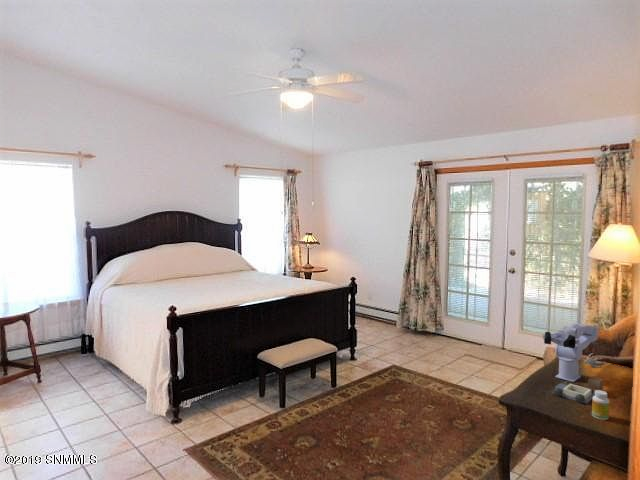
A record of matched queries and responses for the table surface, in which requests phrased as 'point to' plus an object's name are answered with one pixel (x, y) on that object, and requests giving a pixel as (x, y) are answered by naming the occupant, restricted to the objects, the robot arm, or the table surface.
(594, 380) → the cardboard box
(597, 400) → the supplement bottle
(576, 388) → the toy truck
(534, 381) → the table surface
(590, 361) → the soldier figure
